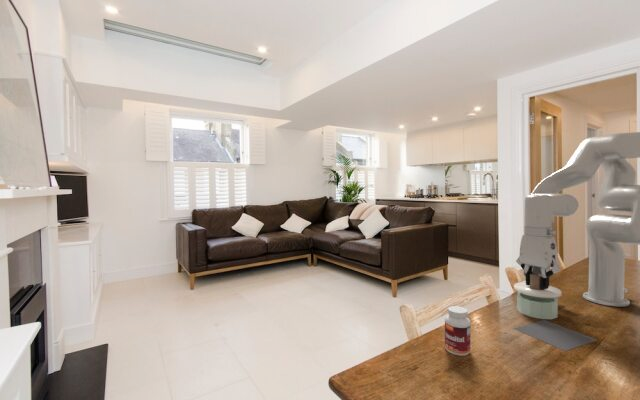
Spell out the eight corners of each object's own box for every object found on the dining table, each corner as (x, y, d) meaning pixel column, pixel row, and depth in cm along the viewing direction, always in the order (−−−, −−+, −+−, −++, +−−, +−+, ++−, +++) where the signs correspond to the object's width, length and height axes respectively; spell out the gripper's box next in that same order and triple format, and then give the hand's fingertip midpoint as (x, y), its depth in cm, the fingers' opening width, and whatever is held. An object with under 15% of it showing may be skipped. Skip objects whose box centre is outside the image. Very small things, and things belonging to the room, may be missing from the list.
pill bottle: (441, 351, 82) (441, 310, 82) (449, 342, 87) (449, 303, 86) (466, 359, 78) (466, 316, 78) (473, 349, 83) (473, 308, 82)
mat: (544, 321, 99) (544, 319, 99) (597, 341, 86) (597, 339, 86) (513, 329, 93) (513, 328, 93) (565, 352, 80) (565, 350, 80)
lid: (530, 283, 113) (530, 268, 112) (570, 294, 101) (571, 277, 100) (505, 288, 108) (505, 272, 108) (544, 300, 96) (544, 283, 96)
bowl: (531, 304, 112) (531, 289, 112) (565, 316, 102) (565, 299, 101) (509, 309, 108) (510, 294, 107) (543, 322, 98) (543, 305, 97)
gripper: (573, 234, 97) (572, 293, 98) (521, 228, 113) (520, 278, 113) (557, 236, 94) (556, 296, 95) (506, 229, 110) (505, 281, 111)
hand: (536, 286), depth 104 cm, fingers closed on lid, 4 cm apart
